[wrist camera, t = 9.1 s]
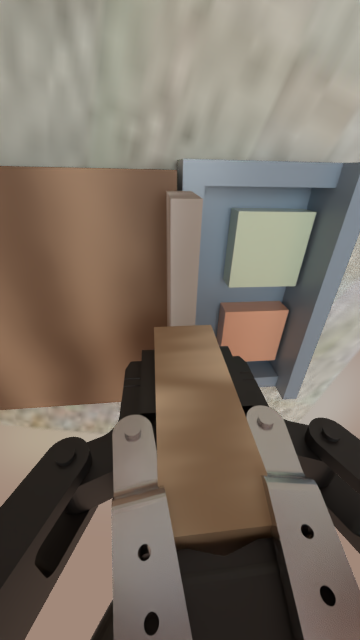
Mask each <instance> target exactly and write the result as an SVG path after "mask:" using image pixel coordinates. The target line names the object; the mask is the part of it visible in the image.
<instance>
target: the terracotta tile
mask: <svg viewBox="0 0 360 640" xmlns="http://www.w3.org/2000/svg"><path fill="white" fill-rule="evenodd" d="M288 311H289V310H288V309H287V308H286V307H285V306H284V305H283V304H282V303H281V302H280V301H256V302H222V303H220V311H219V320H218V328H217V336H216V339H217V342H218V344H219V346H228V347H229V349H230V351H231V354H232V356H240V357H241V358H242V359H243V360H244V361H245V362H247V361H266V360H275V357H276V354H277V350H278V347H279V343H280V340H281V336H282V333H283V329H284V325H285V322H286V318H287V315H288Z"/></svg>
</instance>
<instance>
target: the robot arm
mask: <svg viewBox="0 0 360 640" xmlns="http://www.w3.org/2000/svg"><path fill="white" fill-rule="evenodd" d="M219 347H220V350H221V352H222V355H223V358H224V360H225V363H226V366H227V368H228V371H229V374H230V376H231V379H232V382H233V384H234V387H235V390H236V392H237V395H238V397H239V400H240V403H241V405H242V408H243V411H244V413H245V416H246V419H247V421H248V424H249V427H250V429H251V432H252V435H253V437H254V440H255V443H256V445H257V448H258V451H259V453H260V456H261V459H262V461H263V464H264V466H265V469H266V472H267V474H268V475H261V477H262V482H263V486H264V491H265V495H266V500H267V504H268V509H269V513H270V518H271V523H272V526H271V528H270V531H271V534H272V538H264V539H257V540H255V541H253V542H251V543H250V544H248V545H246V546H244V547H242V548H240V549H238V550H237V551H235V552H233V553H231V554H229V555H227V556H220V555H215V554H210V553H206V552H201V551H196V550H192V549H179V550H176V547H175V541H174V536H173V530H172V525H171V519H170V514H169V508H168V503H167V498H166V493H165V488H164V485H161V486H158V475H157V432H156V390H155V349H152V350H142V358H141V361H132V362H130V364H129V365H128V366H127V368H126V369H125V376H124V385H123V393H122V401H121V409H120V417H119V420H118V423H117V424H116V426H115V427H114V428H113V429H112V430H111V431H110V432H109V433H108V434H106V435H104V436H102V437H100V438H97V439H95V440H92V441H89V442H87V443H86V442H85V441H84V440H83V439H81V438H78V437H69V438H65V439H62V440H61V441H59V442H57V443H56V444H54V445H53V446H52V447H51V448H50V449H49V450H48V451H47V452H46V454H45V455H44V456H43V457H42V458H41V460H40V461H39V462H38V463H37V465H36V466H35V467H34V468H33V469H32V470H31V472H30V473H29V474H28V475H27V476H26V478H25V479H24V480H23V481H22V482H21V483H20V485H19V486H18V487H17V488H16V489H15V491H14V492H13V493H12V494H11V496H10V497H9V498H8V499H7V500H6V501H5V503H4V504H3V505H2V506H1V507H0V640H25V638H26V636H27V634H28V632H29V631H30V629H31V627H32V625H33V623H34V621H35V620H36V618H37V616H38V614H39V612H40V611H41V609H42V607H43V605H44V603H45V602H46V600H47V598H48V596H49V594H50V592H51V591H52V589H53V587H54V585H55V583H56V582H57V580H58V578H59V576H60V574H61V572H62V571H63V569H64V567H65V565H66V563H67V562H68V560H69V558H70V556H71V554H72V552H73V551H74V549H75V547H76V545H77V543H78V542H79V540H80V538H81V536H82V534H83V532H84V531H85V529H86V527H87V525H88V523H89V522H90V520H91V518H92V516H93V514H94V512H95V511H96V508H97V507H98V505H99V504H101V503H103V502H105V501H107V500H109V499H111V498H113V499H112V561H113V562H112V567H113V600H112V602H111V603H110V605H109V607H108V609H107V610H106V612H105V614H104V616H103V618H102V619H101V621H100V623H99V625H98V627H97V629H96V630H95V632H94V634H93V636H92V638H91V640H360V590H359V587H358V585H357V582H356V580H355V577H354V575H353V572H352V570H351V567H350V565H349V563H348V560H347V558H346V555H345V552H344V550H343V547H342V545H341V542H340V540H339V537H338V535H337V532H336V530H335V527H336V528H337V529H338V531H339V532H340V533H341V534H342V535H343V536H344V537H345V538H346V539H347V540H348V541H349V542H350V544H351V545H352V546H353V547H354V548H355V549H356V550H357V551H358V552H359V553H360V440H359V439H358V438H357V437H355V436H354V435H353V434H351V433H350V432H349V431H348V430H346V429H345V428H344V427H342V426H341V425H340V424H338V423H336V422H335V421H332V420H330V419H327V418H316V419H313V420H312V421H311V422H310V424H309V425H305V424H300V423H295V422H291V421H287V420H285V419H283V418H282V416H281V415H280V414H279V413H278V412H277V411H275V410H274V409H272V408H270V407H269V406H268V404H267V402H266V400H265V398H264V396H263V394H262V392H261V390H260V388H259V386H258V384H257V382H256V380H255V379H254V376H253V374H252V373H251V370H250V368H249V366H248V364H247V362H245V361H244V360H243V359H242V358H241V357H240V356H232V354H231V351H230V349H229V347H228V346H219ZM339 476H340V477H339ZM352 488H353V489H352ZM334 526H335V527H334Z"/></svg>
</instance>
